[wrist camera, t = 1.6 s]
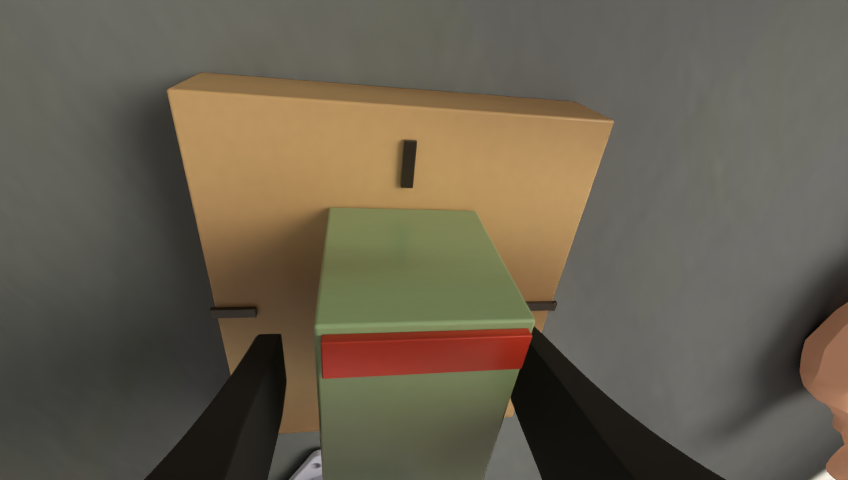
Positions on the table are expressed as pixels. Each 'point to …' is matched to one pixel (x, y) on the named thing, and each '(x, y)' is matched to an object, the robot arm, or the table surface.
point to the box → (414, 344)
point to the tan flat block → (367, 191)
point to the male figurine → (830, 378)
